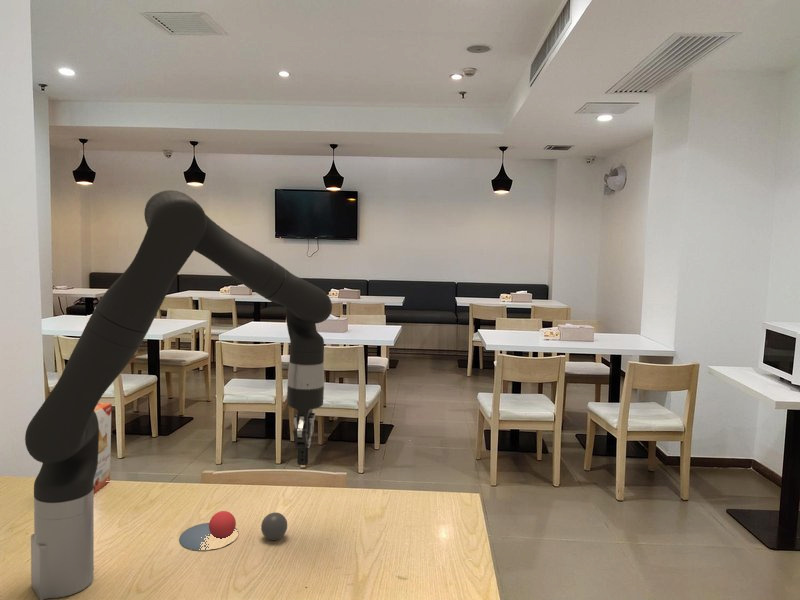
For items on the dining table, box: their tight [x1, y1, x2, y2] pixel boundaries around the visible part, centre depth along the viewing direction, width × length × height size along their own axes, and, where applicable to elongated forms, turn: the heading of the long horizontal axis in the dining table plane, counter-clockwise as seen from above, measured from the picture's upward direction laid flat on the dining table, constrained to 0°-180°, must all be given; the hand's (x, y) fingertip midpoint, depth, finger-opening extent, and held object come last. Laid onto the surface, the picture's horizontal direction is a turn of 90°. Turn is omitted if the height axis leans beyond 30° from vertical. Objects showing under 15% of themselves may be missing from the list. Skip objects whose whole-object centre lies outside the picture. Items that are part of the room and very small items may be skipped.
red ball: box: [208, 510, 237, 539], centre depth 124 cm, size 6×6×6 cm
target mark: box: [178, 522, 239, 551], centre depth 125 cm, size 12×12×1 cm
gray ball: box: [260, 511, 288, 541], centre depth 125 cm, size 6×6×6 cm
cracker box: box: [94, 402, 113, 494], centre depth 142 cm, size 14×6×21 cm, turn 179°
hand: (303, 463), depth 123 cm, fingers closed
